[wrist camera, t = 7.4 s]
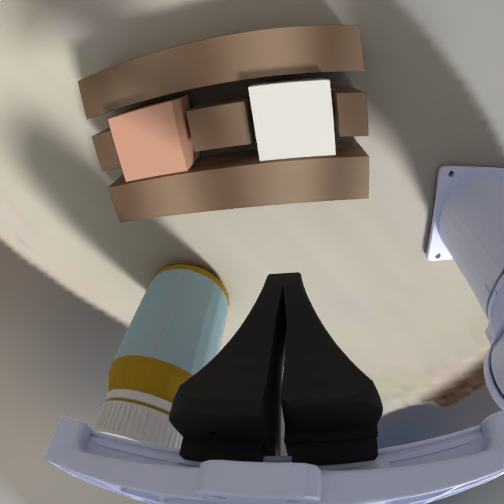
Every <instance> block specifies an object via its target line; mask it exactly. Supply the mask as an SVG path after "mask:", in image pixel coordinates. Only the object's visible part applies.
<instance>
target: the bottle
mask: <svg viewBox="0 0 504 504" xmlns="http://www.w3.org/2000/svg"><path fill="white" fill-rule="evenodd" d="M228 306H229V296H228V293H227V291H226V289H225V287H224V285H223V284H222V283H221V282H220V281H219V280H218V279H217V278H216V277H215V276H214V275H213V274H211V273H210V272H208V271H206V270H205V269H203V268H200V267H197V266H194V265H184V264H176V265H171V266H167V267H165V268H163V269H161V270H160V271H158V272H157V274H156V275H155V277H154V278H153V280H152V281H151V283H150V285H149V287H148V289H147V291H146V293H145V295H144V297H143V299H142V301H141V303H140V305H139V307H138V309H137V311H136V313H135V315H134V317H133V320H132V322H131V324H130V326H129V328H128V330H127V332H126V334H125V337H124V339H123V341H122V343H121V345H120V348H119V350H118V352H117V354H116V357H115V359H114V361H113V363H112V367H111V369H110V371H109V392H108V393H107V396H106V398H105V402H104V405H103V406H102V408H101V410H100V412H99V415H98V418H97V421H96V423H95V426H94V428H93V430H94V431H98V432H101V433H105V434H109V435H113V436H117V437H121V438H125V439H129V440H134V441H138V442H143V443H148V444H153V445H159V446H165V447H171V448H177V449H180V448H181V443H182V439H183V436H182V435H181V434H180V433H179V432H178V431H177V430H176V429H175V428H174V427H173V425H172V424H171V422H170V421H169V414H170V411H171V407H172V403H173V400H174V397H175V395H176V393H177V390H178V388H179V386H180V385H181V384H182V383H184V382H185V381H186V380H188V379H189V378H190V377H192V376H193V375H194V374H196V373H197V372H198V371H200V370H201V369H202V368H203V367H204V366H205V365H206V364H207V363H209V362H210V361H211V360H212V359H213V358H214V357H215V356H216V355H217V354H218V353H219V351H220V346H221V342H222V337H223V332H224V327H225V322H226V318H227V313H228Z"/></svg>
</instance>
